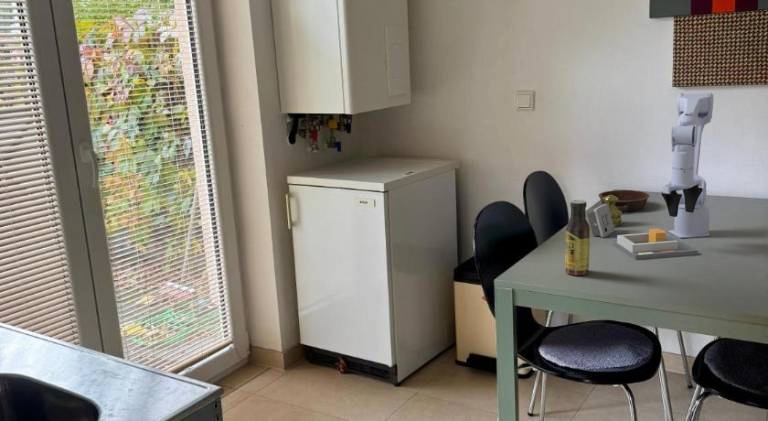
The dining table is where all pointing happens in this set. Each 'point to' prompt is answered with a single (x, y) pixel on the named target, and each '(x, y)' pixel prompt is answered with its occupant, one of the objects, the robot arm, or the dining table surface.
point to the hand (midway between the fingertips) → (681, 214)
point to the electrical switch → (601, 221)
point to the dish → (627, 199)
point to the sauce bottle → (577, 240)
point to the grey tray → (652, 247)
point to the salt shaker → (613, 210)
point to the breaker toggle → (657, 235)
